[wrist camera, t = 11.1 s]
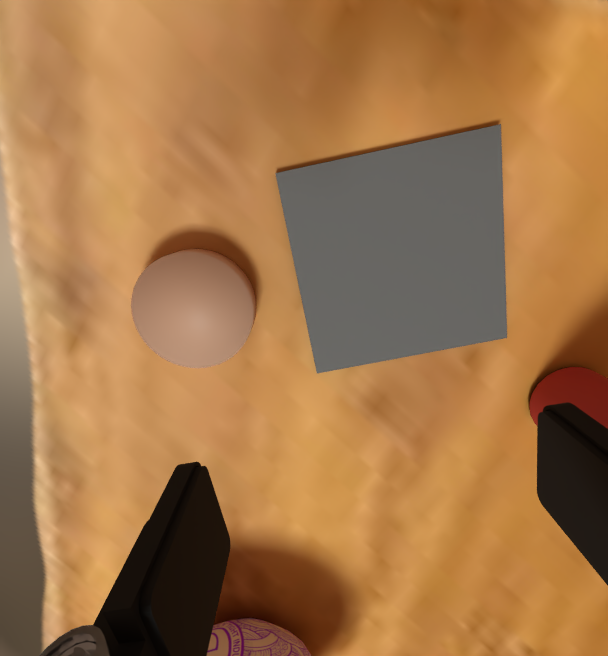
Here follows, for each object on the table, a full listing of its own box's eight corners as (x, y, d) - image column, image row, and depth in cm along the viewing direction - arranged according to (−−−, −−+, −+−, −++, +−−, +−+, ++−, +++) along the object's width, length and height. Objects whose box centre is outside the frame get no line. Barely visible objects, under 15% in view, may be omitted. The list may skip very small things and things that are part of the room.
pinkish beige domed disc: (236, 234, 28) (229, 237, 25) (269, 340, 30) (267, 352, 28) (127, 265, 28) (111, 270, 26) (170, 366, 31) (159, 379, 29)
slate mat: (496, 125, 25) (500, 124, 25) (503, 335, 30) (507, 337, 30) (276, 173, 26) (275, 173, 26) (316, 370, 31) (317, 373, 30)
